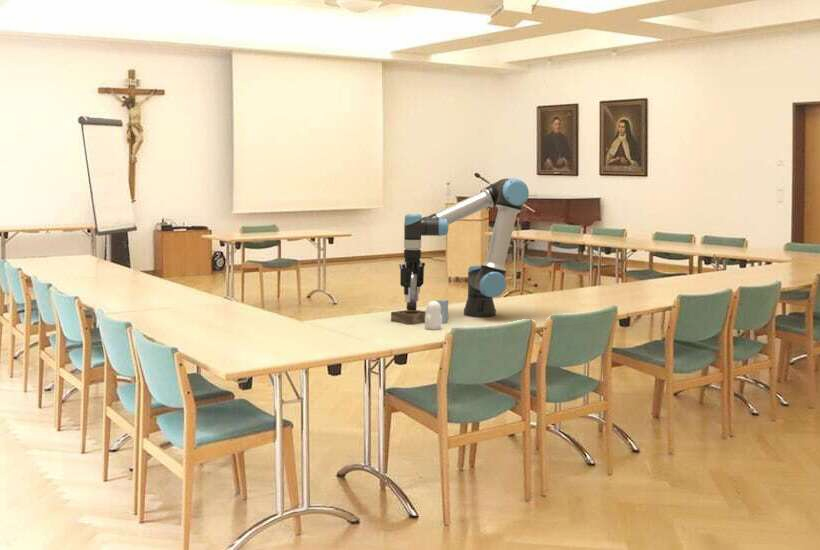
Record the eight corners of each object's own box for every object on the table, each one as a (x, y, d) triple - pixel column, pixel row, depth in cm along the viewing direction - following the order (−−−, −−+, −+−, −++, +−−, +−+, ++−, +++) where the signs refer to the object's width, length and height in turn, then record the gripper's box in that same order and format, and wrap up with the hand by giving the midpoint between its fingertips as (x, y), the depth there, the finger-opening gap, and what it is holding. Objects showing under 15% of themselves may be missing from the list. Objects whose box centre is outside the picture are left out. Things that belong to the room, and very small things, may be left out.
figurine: (427, 330, 376) (427, 302, 375) (422, 327, 383) (422, 299, 382) (443, 329, 378) (444, 301, 376) (438, 326, 385) (438, 299, 384)
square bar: (439, 321, 398) (440, 299, 397) (447, 322, 396) (448, 300, 395) (435, 323, 395) (436, 300, 394) (443, 323, 393) (444, 301, 392)
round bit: (411, 308, 401) (412, 272, 399) (418, 309, 398) (419, 273, 396) (404, 309, 398) (405, 273, 396) (411, 310, 395) (411, 274, 393)
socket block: (412, 318, 407) (412, 309, 407) (432, 321, 398) (432, 312, 397) (391, 320, 399) (391, 312, 398) (410, 324, 389) (410, 315, 389)
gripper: (421, 247, 403) (420, 298, 406) (392, 249, 391) (391, 302, 394) (432, 248, 398) (431, 300, 400) (403, 250, 386) (402, 304, 389)
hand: (411, 301), depth 397 cm, fingers closed on round bit, 4 cm apart
